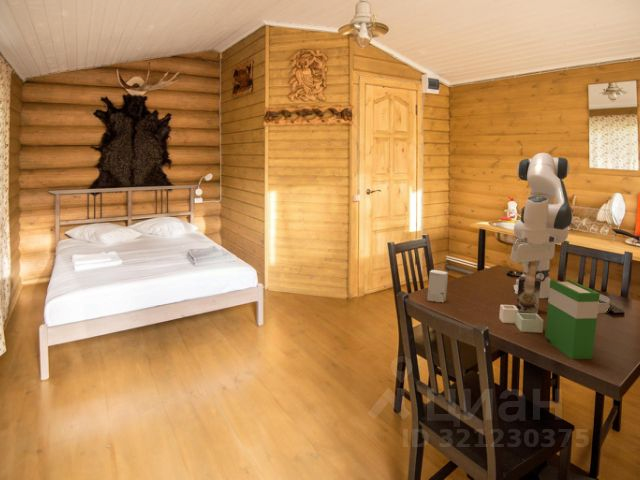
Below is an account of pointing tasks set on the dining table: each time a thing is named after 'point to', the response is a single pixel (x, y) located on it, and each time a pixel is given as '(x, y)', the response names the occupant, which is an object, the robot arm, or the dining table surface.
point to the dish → (603, 304)
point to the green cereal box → (572, 318)
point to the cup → (508, 313)
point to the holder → (529, 322)
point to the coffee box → (528, 297)
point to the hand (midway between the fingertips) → (530, 271)
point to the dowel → (530, 278)
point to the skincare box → (437, 286)
